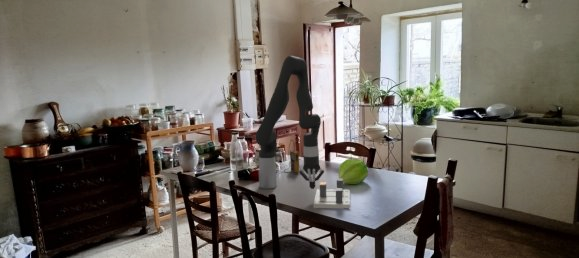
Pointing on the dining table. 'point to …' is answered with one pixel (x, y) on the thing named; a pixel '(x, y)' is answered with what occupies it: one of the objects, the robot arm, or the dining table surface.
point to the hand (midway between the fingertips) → (312, 188)
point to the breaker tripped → (322, 189)
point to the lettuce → (353, 171)
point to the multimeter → (294, 160)
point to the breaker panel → (332, 199)
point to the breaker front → (338, 195)
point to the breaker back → (340, 183)
